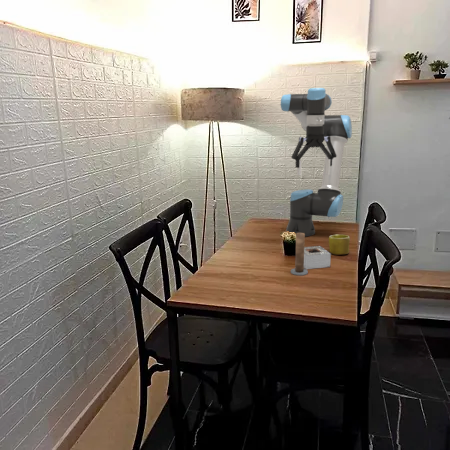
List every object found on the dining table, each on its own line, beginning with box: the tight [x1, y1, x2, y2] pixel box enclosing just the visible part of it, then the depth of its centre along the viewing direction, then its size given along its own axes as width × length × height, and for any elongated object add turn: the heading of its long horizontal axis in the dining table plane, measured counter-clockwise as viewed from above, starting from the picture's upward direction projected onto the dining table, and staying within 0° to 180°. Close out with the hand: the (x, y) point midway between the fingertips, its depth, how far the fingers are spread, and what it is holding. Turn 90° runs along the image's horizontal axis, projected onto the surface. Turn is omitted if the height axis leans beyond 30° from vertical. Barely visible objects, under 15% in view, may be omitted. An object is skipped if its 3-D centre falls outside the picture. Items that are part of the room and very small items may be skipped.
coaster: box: [290, 267, 309, 277], centre depth 180 cm, size 7×7×1 cm
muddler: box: [294, 233, 306, 273], centre depth 178 cm, size 3×3×16 cm
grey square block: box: [304, 245, 332, 270], centre depth 189 cm, size 11×11×6 cm
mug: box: [328, 233, 351, 256], centre depth 203 cm, size 12×10×10 cm
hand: (313, 174), depth 194 cm, fingers open, 13 cm apart
